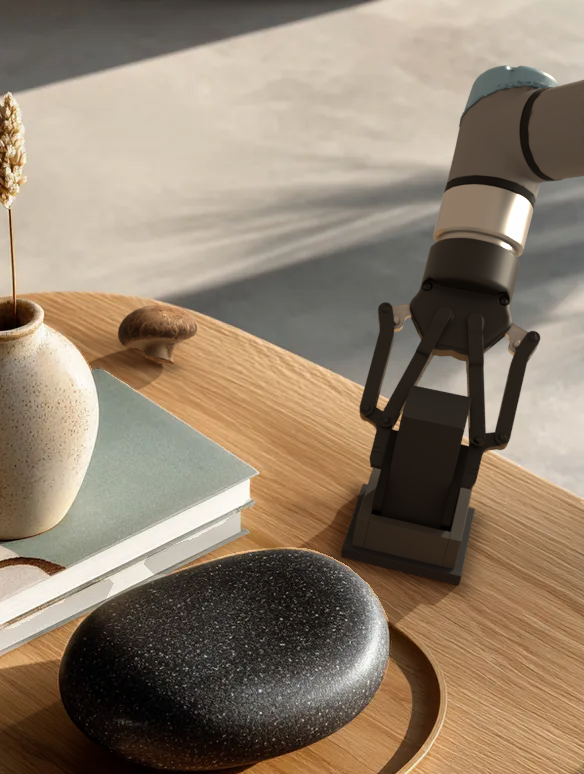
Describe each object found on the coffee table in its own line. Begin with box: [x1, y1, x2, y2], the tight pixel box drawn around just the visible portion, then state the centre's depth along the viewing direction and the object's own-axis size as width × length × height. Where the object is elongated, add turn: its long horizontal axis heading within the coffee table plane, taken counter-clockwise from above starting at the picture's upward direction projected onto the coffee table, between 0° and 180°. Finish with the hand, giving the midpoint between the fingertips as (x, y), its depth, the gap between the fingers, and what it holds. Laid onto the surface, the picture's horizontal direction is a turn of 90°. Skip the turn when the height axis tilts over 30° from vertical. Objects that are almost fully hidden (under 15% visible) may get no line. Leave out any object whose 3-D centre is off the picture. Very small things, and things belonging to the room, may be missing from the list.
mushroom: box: [117, 304, 198, 365], centre depth 137 cm, size 8×8×6 cm
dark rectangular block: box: [380, 385, 472, 530], centre depth 111 cm, size 5×5×12 cm
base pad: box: [340, 468, 476, 586], centre depth 115 cm, size 10×10×4 cm
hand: (411, 515), depth 110 cm, fingers closed on dark rectangular block, 5 cm apart
